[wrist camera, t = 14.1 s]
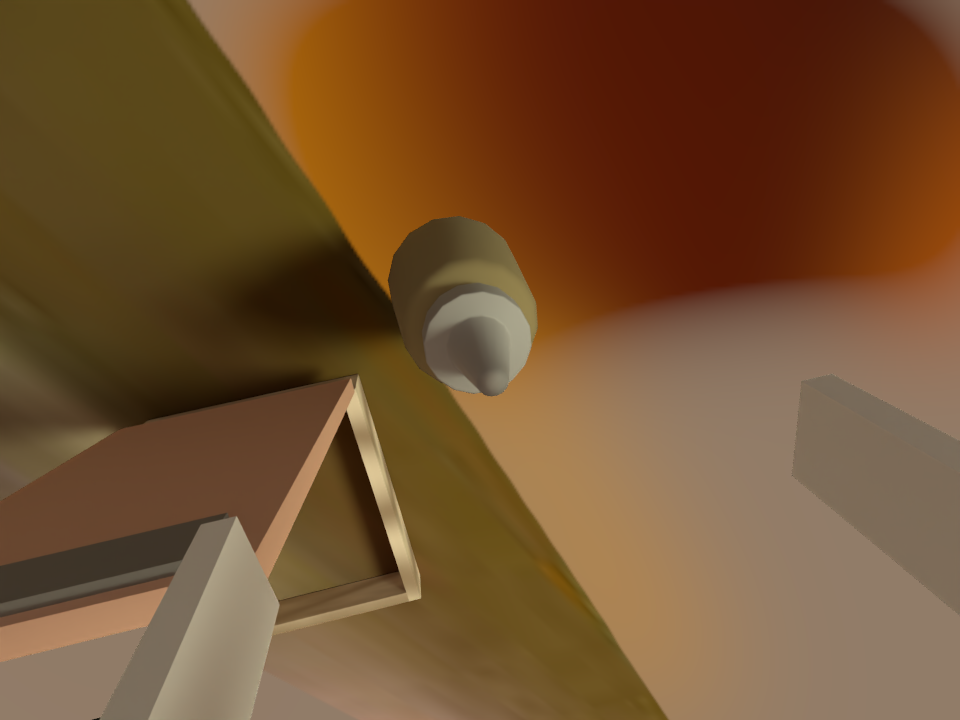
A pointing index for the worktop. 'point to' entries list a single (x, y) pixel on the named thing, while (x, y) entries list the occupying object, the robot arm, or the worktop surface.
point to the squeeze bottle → (462, 305)
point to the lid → (153, 512)
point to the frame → (407, 580)
